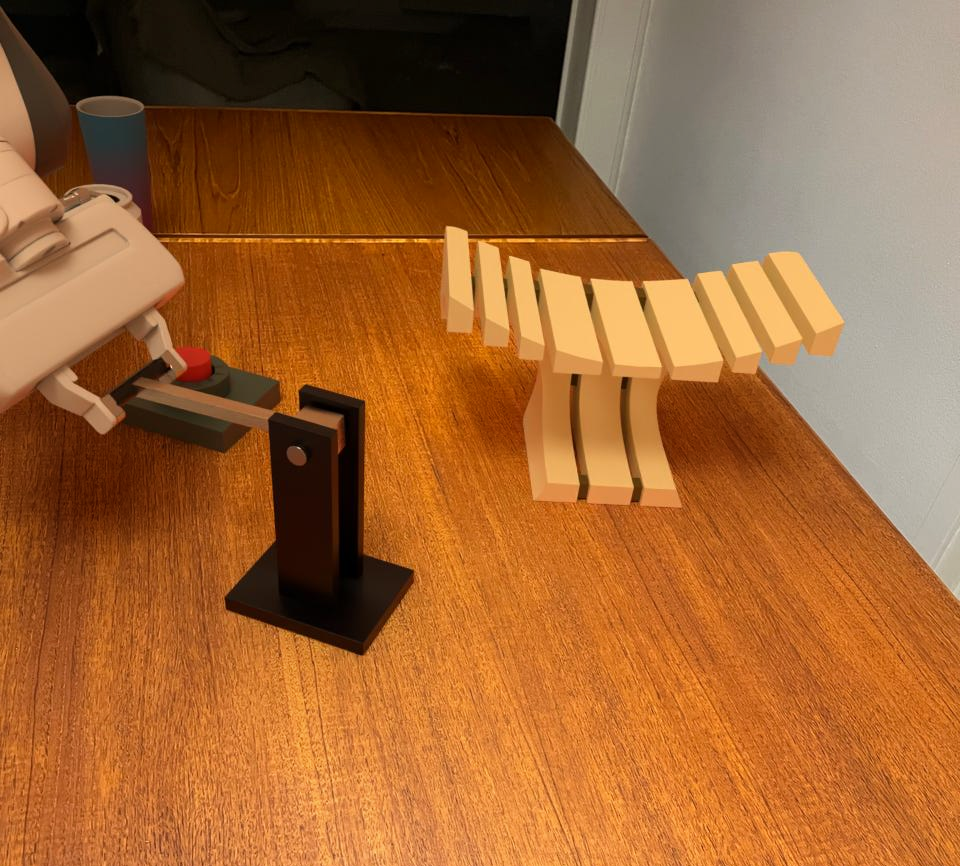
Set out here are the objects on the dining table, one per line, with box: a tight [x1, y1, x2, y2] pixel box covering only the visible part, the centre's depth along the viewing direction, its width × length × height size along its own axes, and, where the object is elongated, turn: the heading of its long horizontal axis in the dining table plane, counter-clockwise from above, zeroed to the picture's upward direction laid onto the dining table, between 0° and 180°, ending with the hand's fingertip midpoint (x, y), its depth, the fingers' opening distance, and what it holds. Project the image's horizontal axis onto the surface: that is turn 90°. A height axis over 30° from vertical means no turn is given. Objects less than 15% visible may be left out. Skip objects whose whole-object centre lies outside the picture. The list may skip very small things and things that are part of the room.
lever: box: [101, 359, 345, 454], centre depth 67 cm, size 16×6×2 cm, turn 69°
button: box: [174, 346, 212, 382], centre depth 89 cm, size 4×4×2 cm
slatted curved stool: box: [439, 225, 845, 509], centre depth 87 cm, size 30×16×18 cm, turn 92°
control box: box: [101, 354, 282, 454], centre depth 91 cm, size 12×10×4 cm
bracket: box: [224, 383, 415, 656], centre depth 70 cm, size 11×9×16 cm
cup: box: [75, 95, 155, 237], centre depth 110 cm, size 7×7×15 cm
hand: (147, 401), depth 69 cm, fingers closed on lever, 6 cm apart
